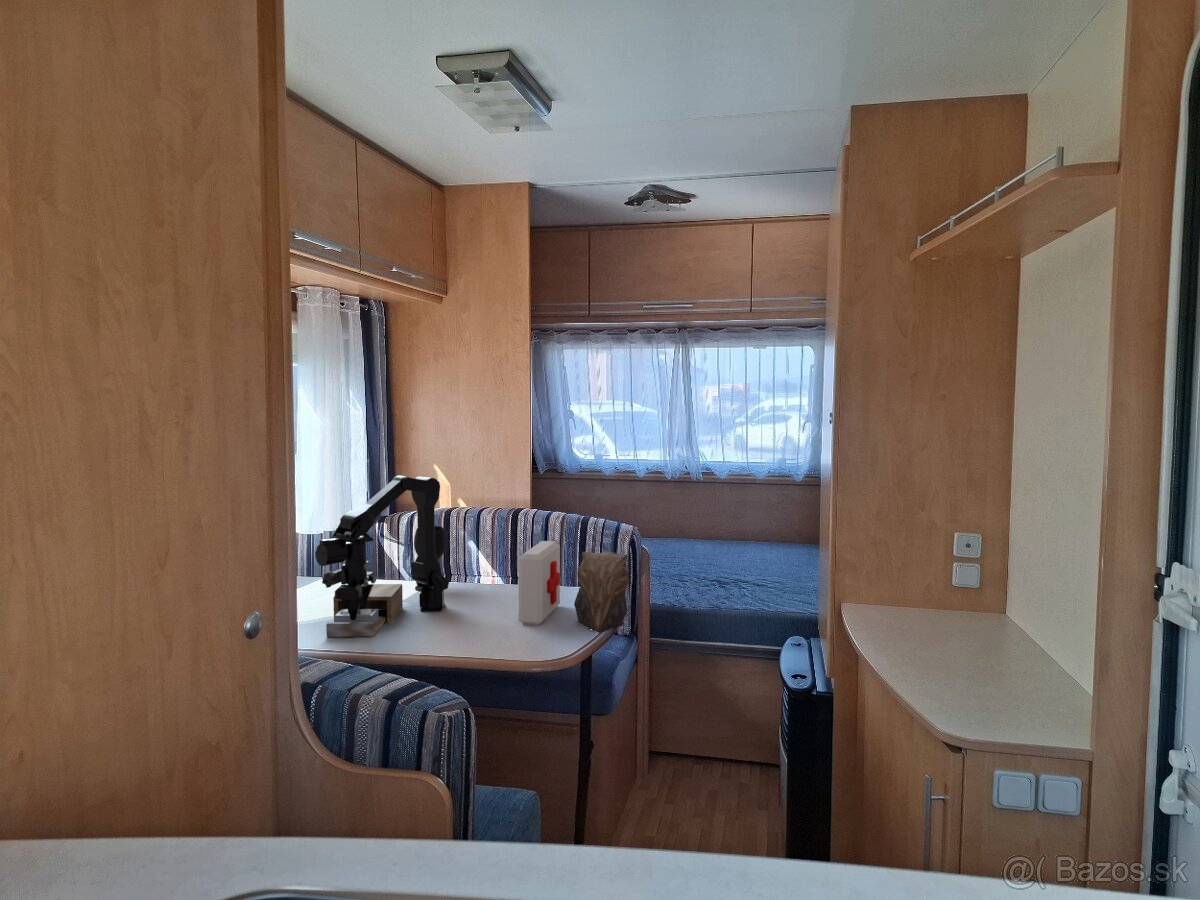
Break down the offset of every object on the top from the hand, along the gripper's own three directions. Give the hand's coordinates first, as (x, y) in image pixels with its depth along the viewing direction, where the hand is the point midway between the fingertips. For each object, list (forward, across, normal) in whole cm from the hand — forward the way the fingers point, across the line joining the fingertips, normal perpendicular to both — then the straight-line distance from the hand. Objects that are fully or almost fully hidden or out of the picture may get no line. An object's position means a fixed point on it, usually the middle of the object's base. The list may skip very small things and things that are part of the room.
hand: (356, 615), depth 206 cm
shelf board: (+3, 0, 0) cm, 3 cm away
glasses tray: (+2, 0, 0) cm, 2 cm away
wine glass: (+4, -44, +12) cm, 45 cm away
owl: (+4, -1, +66) cm, 66 cm away
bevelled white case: (+4, -12, +50) cm, 52 cm away
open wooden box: (+4, -13, 0) cm, 13 cm away
